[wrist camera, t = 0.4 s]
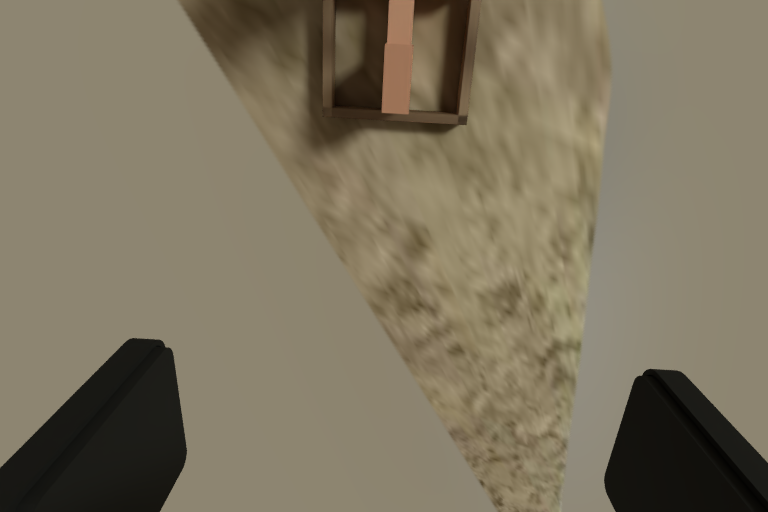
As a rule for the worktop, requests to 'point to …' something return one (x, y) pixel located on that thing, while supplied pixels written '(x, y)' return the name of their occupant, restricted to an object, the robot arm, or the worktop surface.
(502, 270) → the worktop surface
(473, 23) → the lane frame
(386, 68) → the sled
